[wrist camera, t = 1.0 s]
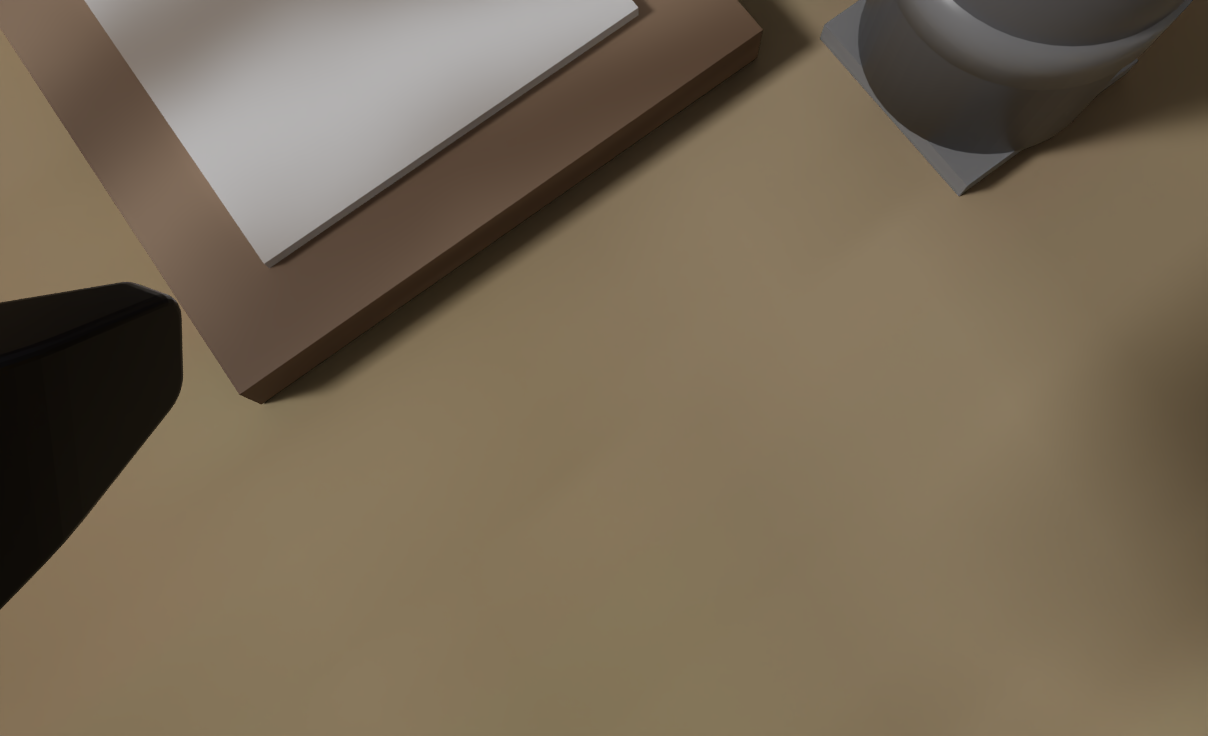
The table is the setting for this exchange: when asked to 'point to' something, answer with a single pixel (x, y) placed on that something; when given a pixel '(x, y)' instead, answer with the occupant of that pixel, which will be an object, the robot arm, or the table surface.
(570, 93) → the mount board
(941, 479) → the table surface
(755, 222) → the table surface
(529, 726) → the table surface
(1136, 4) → the grey tall rounded piece
